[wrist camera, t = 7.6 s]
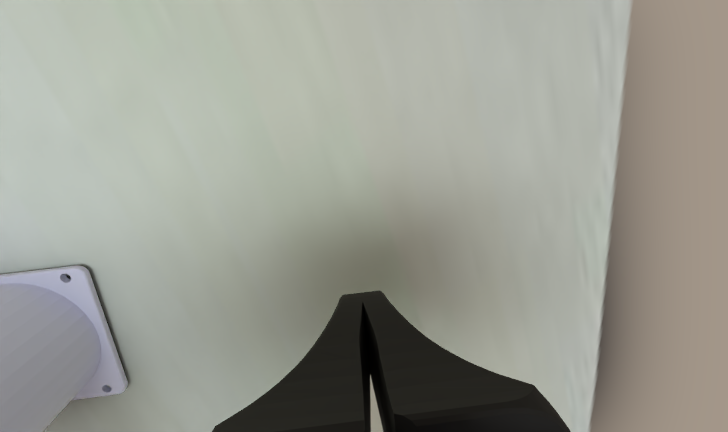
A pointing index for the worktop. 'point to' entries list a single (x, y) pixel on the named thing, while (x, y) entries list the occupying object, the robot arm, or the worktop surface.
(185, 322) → the worktop surface
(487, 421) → the robot arm
